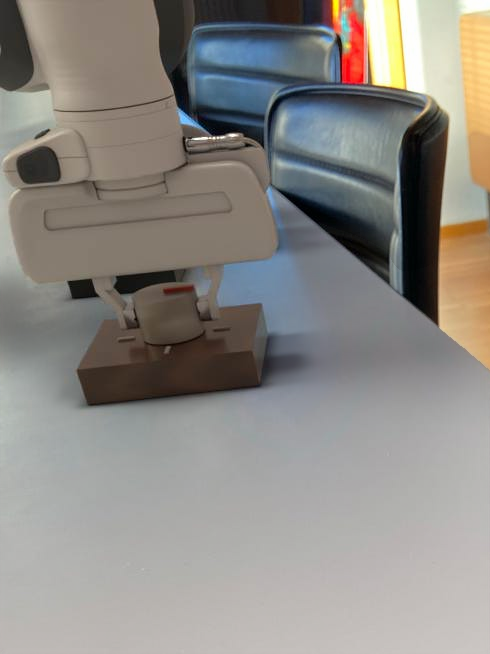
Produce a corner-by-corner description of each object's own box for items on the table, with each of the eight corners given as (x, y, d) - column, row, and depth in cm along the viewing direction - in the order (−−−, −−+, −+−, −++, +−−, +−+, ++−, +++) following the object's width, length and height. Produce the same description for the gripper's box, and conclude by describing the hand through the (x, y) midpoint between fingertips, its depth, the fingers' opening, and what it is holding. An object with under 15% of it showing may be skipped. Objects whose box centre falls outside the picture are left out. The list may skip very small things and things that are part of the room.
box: (72, 298, 106) (60, 259, 104) (91, 270, 114) (80, 233, 112) (178, 287, 107) (168, 248, 104) (189, 260, 115) (180, 223, 112)
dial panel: (87, 405, 82) (75, 367, 81) (113, 352, 92) (103, 317, 90) (259, 385, 83) (251, 348, 81) (268, 335, 93) (261, 300, 91)
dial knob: (138, 347, 84) (125, 301, 81) (148, 326, 88) (136, 282, 85) (201, 341, 84) (190, 294, 82) (208, 320, 88) (198, 275, 86)
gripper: (264, 122, 80) (296, 298, 88) (1, 148, 79) (58, 323, 87) (259, 137, 75) (293, 322, 83) (-22, 165, 74) (40, 349, 82)
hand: (171, 323), depth 85 cm, fingers closed on dial knob, 5 cm apart
